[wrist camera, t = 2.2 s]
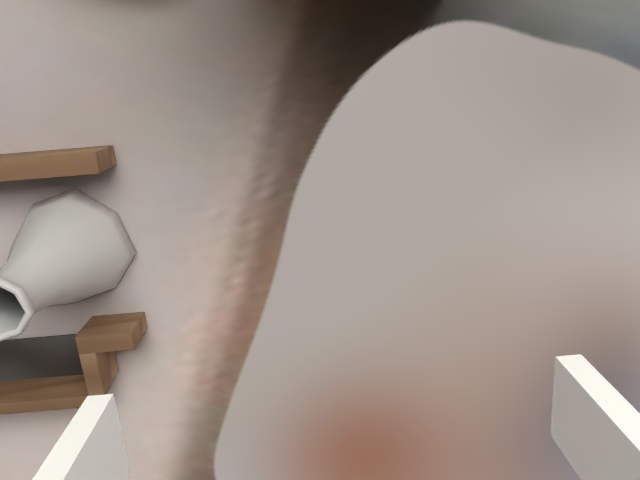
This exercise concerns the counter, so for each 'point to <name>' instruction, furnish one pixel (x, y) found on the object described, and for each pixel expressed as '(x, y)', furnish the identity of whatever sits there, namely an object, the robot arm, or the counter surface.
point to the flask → (61, 258)
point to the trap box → (65, 350)
